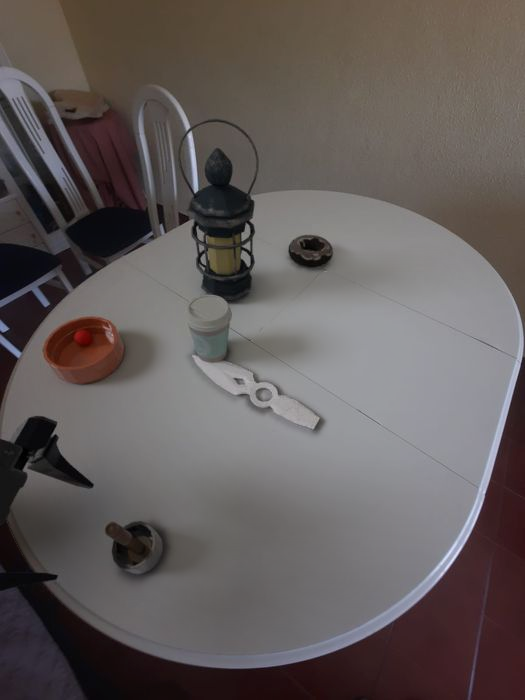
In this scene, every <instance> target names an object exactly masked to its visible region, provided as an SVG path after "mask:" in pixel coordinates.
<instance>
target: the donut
mask: <svg viewBox="0 0 525 700" xmlns="http://www.w3.org/2000/svg"><path fill="white" fill-rule="evenodd" d="M287 251H288V255H289V257H290V260H292V261H293V262H294V263H295V264H297V265H298V266H301V267H304V268H313V269H314V268H315V269H316V268H320V267H322V266H326V265H327V264H328V263H329V262H330V261H331V259H332V258H333V256H334V248H333V246H332V244H331V243H330V241H329V240H328V239H326V238H325V237H322V236H319V235H317V234H303V235H300V236H297V237H295V238H294V239H292V240H291V242H290V243H289V245H288V250H287Z"/></svg>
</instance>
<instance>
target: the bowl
mask: <svg viewBox="0 0 525 700" xmlns="http://www.w3.org/2000/svg"><path fill="white" fill-rule="evenodd" d="M79 330H87V331H88V332H90V333H91V335H92V340H91V342H90V343H89V344H88V345H85V346H81V345H78V344H77V343H76V342H75V340H74V335H75V333H76V332H77V331H79ZM124 352H125V345H124V342H123V340H122V338H121V335H120V333H119V331H118V328H117V327H116V325H115V324H114V323H113V322H112V321H111V320H108V319H106V318H104V317H100V316H94V315H93V316H82V317H78V318H75V319H71V320H68V321H67V322H64V323H63V324H61V325H60V326H58V327H57V328H55V329H54V330H53V331H52V332H50V334H49V335H48V336H47V338H46V339H45V341H44V344H43V347H42V354H43V359H44V360H45V361H46V363H47V364H48V365H49V367H50V368H51V370H53V372H54V373H55V374H56V376H57V377H58V378H59V379H61V380H63V381H65V382H67V383H70V384H76V385H85V384H90V383H95V382H99V381H100V380H102V379H104V378H106V377H107V376H109V375H111V374H112V373H114V371H115V370H116V369H117V368H118V367H119V365H120V364H121V362H122V360H123V358H124Z"/></svg>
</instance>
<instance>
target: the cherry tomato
mask: <svg viewBox="0 0 525 700" xmlns="http://www.w3.org/2000/svg"><path fill="white" fill-rule="evenodd" d="M74 340H75V342H76V343H77V344H78V345H81V346H85V345H88V344H89V343H90V342H91V340H92V335H91V333H90V332H88V331H87V330H79V331H77V332H76V333H75V335H74Z"/></svg>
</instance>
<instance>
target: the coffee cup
mask: <svg viewBox="0 0 525 700" xmlns="http://www.w3.org/2000/svg"><path fill="white" fill-rule="evenodd" d="M232 319H233V313H232V309H231V307H230V305H229V303H228V302H227V300H224V299H223V298H221V297H219V296H216V295H209V294H202V295H198V296H196V297H194V298H192V299H191V300H189V302H188V303H187V305H186V308H185V310H184V322H185V323H186V325H187V326H188V329H189V332H190V335H191V338H192V341H193V345H194V348H195V351H196V354H197V355H198V357H199V358H200V359H201V360H202V361H205V362H208V363H216V362H219V361H221V360H223V361H224V359H225V358H226V356H227V353H228V352H227V351H228V344H229V334H230V324H231V320H232Z"/></svg>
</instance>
